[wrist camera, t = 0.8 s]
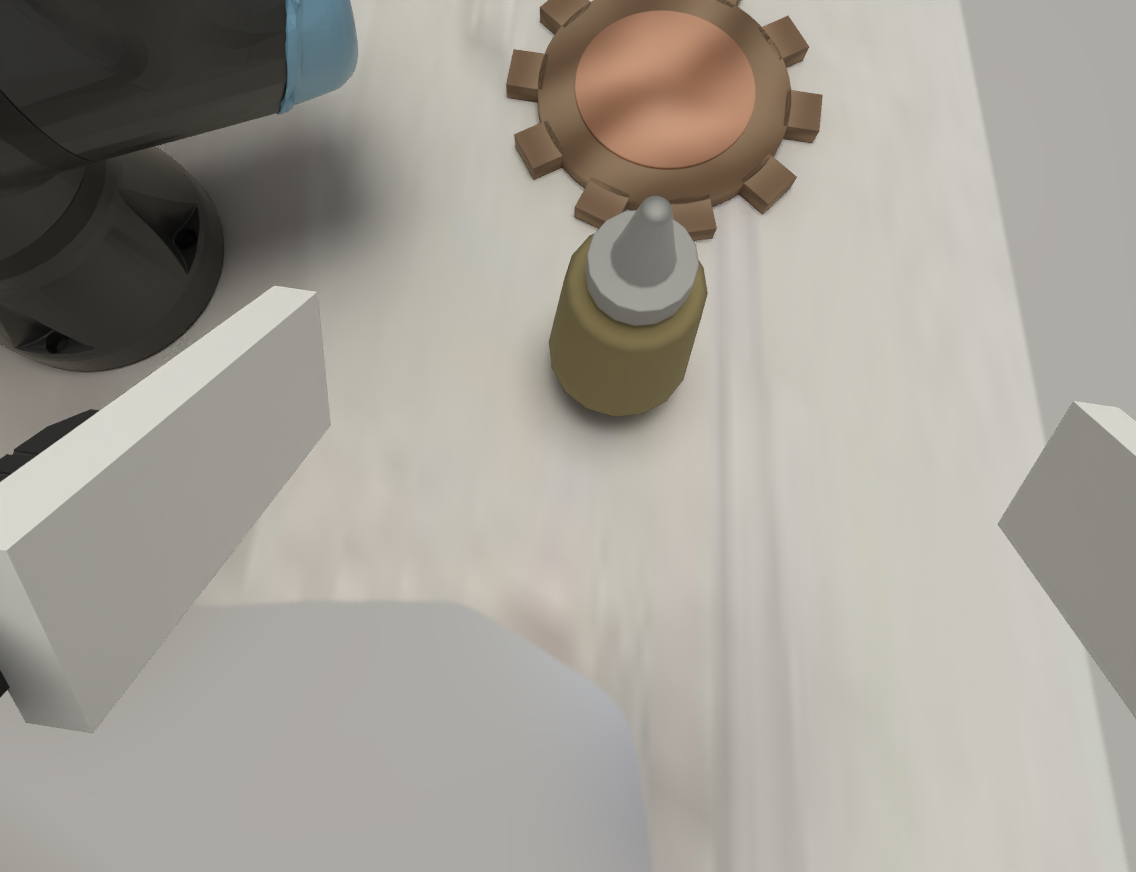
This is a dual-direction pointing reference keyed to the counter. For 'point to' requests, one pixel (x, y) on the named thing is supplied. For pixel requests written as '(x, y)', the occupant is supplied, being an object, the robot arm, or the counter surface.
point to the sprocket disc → (663, 105)
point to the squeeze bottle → (629, 312)
